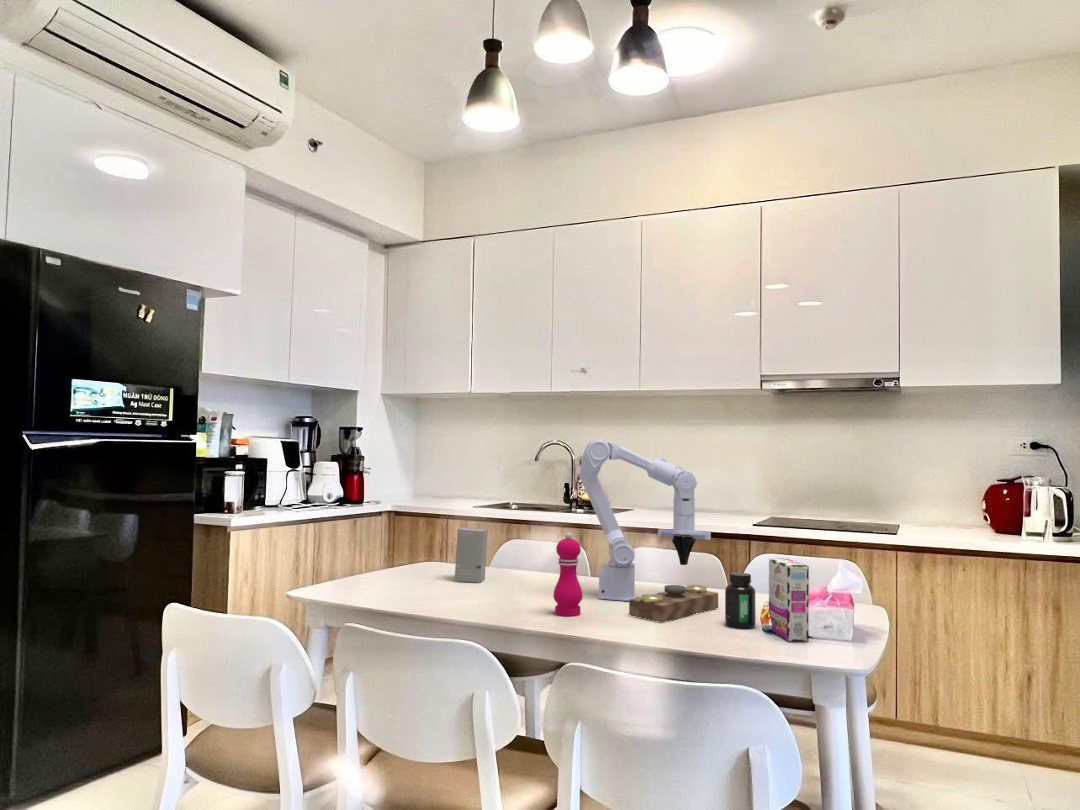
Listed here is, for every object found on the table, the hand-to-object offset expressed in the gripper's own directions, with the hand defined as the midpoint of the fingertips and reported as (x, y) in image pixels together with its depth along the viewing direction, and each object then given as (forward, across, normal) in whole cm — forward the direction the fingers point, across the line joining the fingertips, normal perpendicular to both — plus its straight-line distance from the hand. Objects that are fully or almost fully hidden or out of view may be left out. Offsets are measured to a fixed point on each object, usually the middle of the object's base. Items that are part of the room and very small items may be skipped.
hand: (683, 564), depth 206 cm
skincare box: (+10, -64, -11) cm, 66 cm away
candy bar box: (+10, +34, -25) cm, 43 cm away
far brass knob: (+9, +6, -7) cm, 13 cm away
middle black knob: (+8, +4, -17) cm, 19 cm away
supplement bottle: (+10, +22, -22) cm, 32 cm away
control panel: (+9, +4, -17) cm, 19 cm away
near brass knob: (+9, +1, -26) cm, 27 cm away
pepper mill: (+10, -18, -33) cm, 39 cm away
